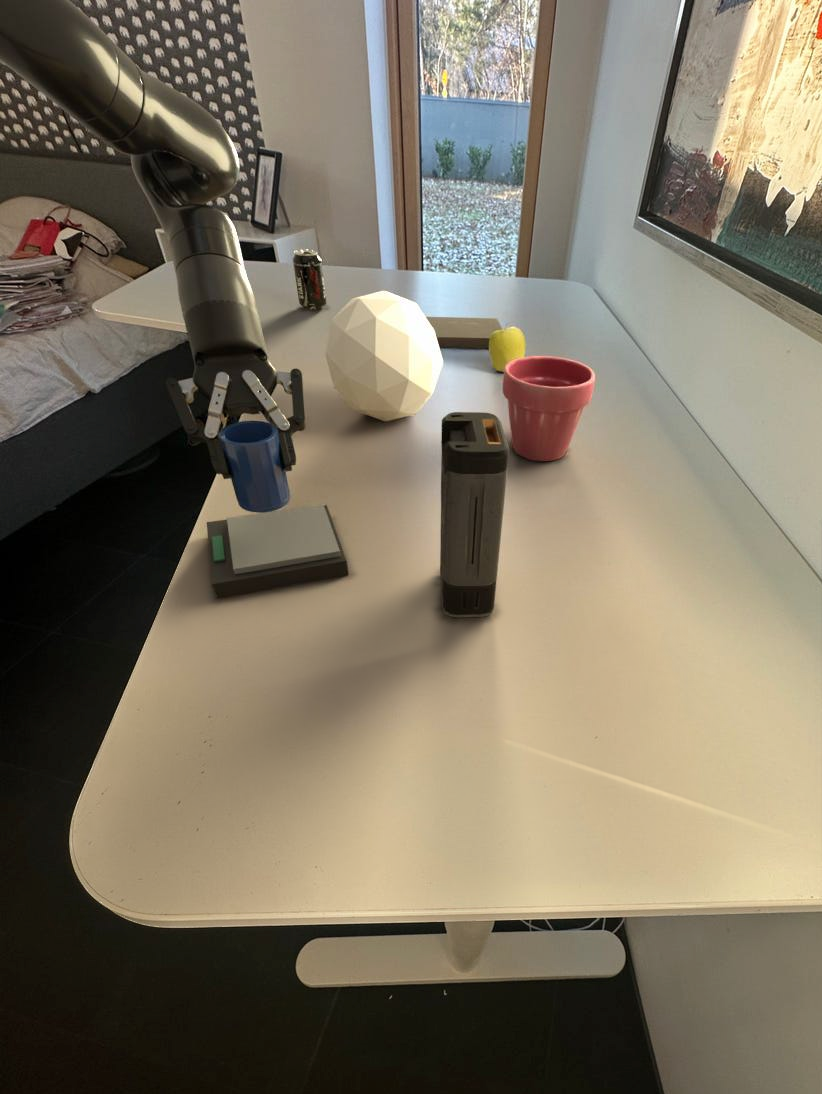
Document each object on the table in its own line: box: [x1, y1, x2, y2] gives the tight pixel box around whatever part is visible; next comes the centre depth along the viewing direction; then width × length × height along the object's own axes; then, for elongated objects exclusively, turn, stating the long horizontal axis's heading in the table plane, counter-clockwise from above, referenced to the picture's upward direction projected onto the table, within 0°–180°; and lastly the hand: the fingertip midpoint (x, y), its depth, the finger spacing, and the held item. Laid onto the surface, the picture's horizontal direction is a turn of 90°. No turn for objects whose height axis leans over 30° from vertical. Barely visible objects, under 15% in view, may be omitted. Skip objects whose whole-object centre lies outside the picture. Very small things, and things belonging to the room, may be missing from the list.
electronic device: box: [439, 411, 510, 618], centre depth 61 cm, size 9×6×20 cm, turn 6°
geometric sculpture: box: [325, 290, 444, 422], centre depth 96 cm, size 19×20×20 cm
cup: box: [219, 420, 291, 514], centre depth 62 cm, size 6×6×8 cm
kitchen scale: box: [206, 503, 349, 600], centre depth 70 cm, size 15×13×3 cm
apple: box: [488, 324, 526, 373], centre depth 119 cm, size 8×8×10 cm
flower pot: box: [502, 355, 596, 462], centre depth 91 cm, size 14×14×13 cm
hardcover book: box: [425, 316, 503, 350], centre depth 134 cm, size 16×23×2 cm
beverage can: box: [292, 249, 327, 311], centre depth 142 cm, size 7×7×12 cm
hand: (258, 472), depth 61 cm, fingers closed on cup, 6 cm apart
